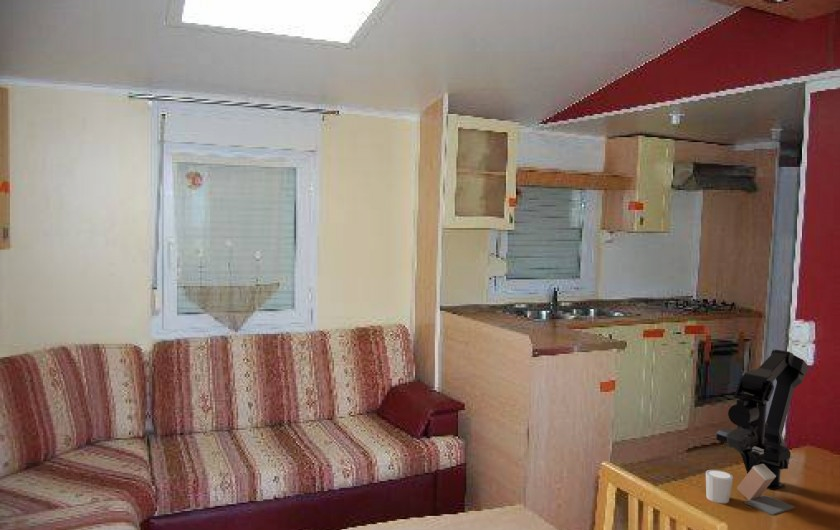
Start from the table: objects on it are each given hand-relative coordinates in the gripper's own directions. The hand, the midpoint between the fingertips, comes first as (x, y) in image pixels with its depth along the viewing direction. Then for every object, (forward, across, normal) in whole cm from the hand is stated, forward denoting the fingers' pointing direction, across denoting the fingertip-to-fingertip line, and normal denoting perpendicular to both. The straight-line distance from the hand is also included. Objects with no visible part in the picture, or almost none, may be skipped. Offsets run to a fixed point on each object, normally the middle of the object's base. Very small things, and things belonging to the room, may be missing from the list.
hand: (749, 474), depth 177 cm
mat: (+6, +6, 0) cm, 9 cm away
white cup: (+7, -3, -9) cm, 12 cm away
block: (+6, 0, 0) cm, 6 cm away
